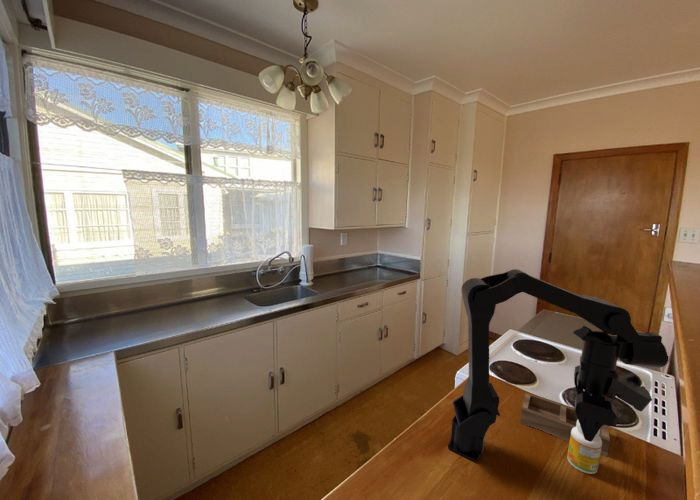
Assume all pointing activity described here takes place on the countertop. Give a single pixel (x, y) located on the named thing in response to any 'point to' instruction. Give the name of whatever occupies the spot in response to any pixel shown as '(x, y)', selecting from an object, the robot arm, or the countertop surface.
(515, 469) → the countertop surface
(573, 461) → the supplement bottle
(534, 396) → the walnut trough
